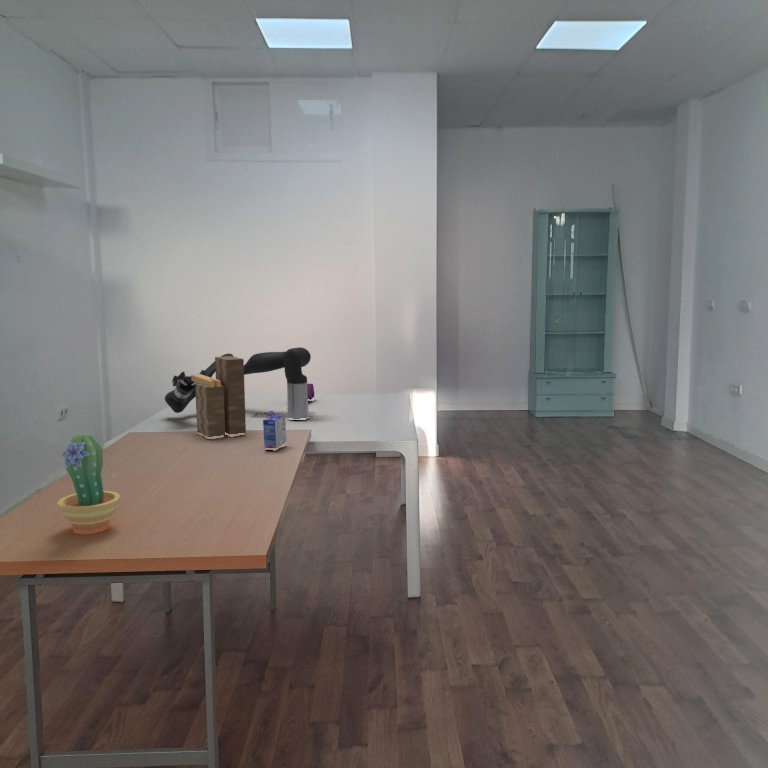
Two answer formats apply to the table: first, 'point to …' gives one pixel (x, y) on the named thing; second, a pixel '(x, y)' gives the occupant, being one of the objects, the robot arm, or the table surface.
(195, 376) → the slotted slat
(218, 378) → the step stand
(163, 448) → the table surface
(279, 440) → the ink cartridge box
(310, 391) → the mounting bracket
